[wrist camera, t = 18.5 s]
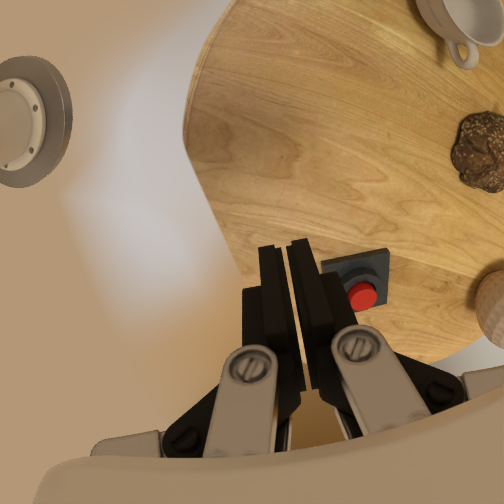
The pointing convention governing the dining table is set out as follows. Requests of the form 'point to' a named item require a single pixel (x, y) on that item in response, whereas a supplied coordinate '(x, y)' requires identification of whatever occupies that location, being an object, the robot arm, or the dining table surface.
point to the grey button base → (363, 271)
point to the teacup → (465, 25)
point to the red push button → (362, 296)
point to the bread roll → (481, 152)
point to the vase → (491, 307)
